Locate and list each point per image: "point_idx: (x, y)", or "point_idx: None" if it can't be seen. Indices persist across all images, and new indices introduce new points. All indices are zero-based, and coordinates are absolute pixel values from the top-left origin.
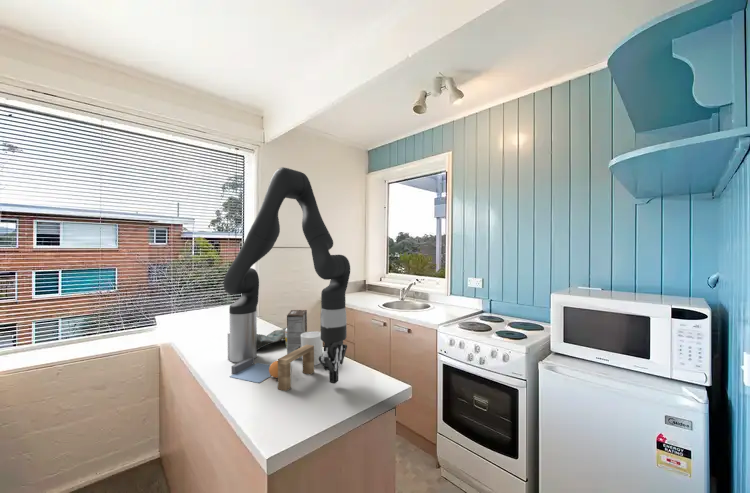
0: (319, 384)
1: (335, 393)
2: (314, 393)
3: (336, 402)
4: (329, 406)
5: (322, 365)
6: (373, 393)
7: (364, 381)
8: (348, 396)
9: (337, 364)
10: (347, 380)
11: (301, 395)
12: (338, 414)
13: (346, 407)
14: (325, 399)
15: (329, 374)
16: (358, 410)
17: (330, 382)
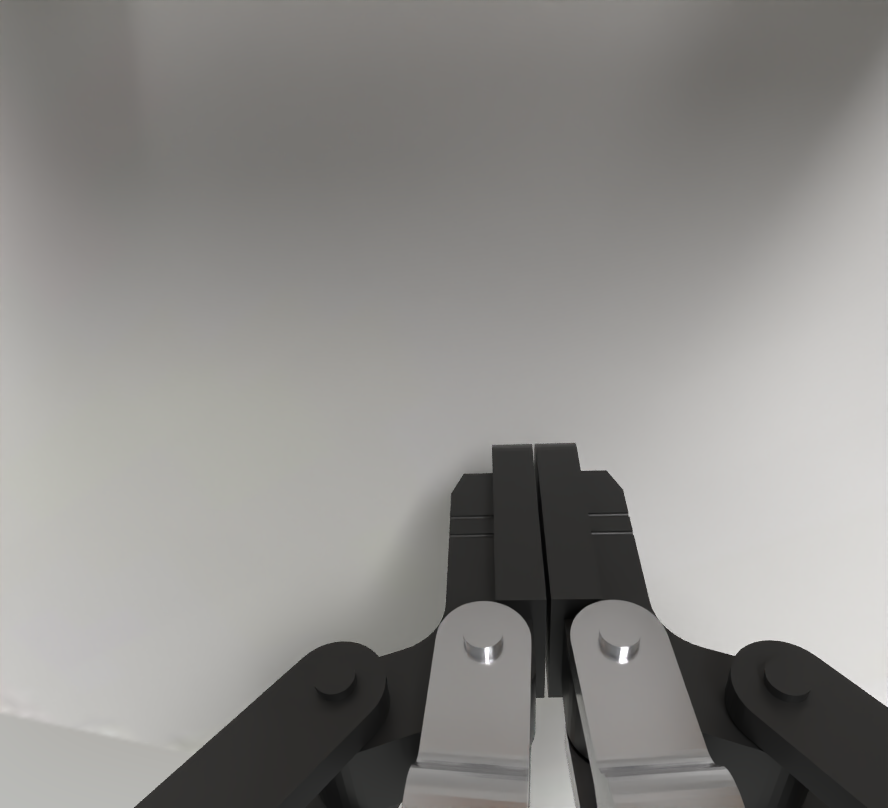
0: (531, 182)
1: (388, 514)
2: (236, 292)
3: (230, 598)
4: (126, 580)
5: (149, 802)
6: (556, 760)
7: (805, 641)
8: (399, 636)
9: (575, 799)
10: (795, 483)
11: (59, 145)
12: (86, 680)
13: (216, 687)
14: (206, 489)
15: (448, 567)
16: None
17: (493, 450)
